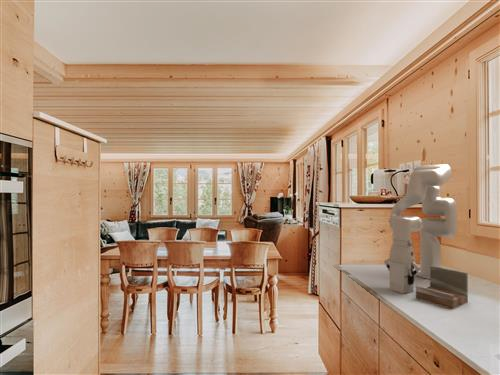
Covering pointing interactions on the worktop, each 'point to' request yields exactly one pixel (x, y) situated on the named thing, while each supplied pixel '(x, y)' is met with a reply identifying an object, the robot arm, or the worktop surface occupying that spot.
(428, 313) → the worktop surface
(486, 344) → the worktop surface
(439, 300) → the wall shelf
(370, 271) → the worktop surface
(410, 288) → the supplement box
